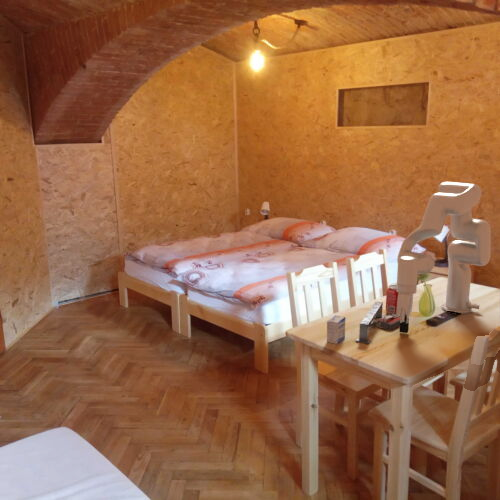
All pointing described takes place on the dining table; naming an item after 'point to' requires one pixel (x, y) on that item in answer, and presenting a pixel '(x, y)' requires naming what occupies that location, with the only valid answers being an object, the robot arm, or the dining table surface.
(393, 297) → the soda can
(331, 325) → the medicine box
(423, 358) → the dining table surface
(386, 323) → the walkie-talkie
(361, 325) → the bracket
